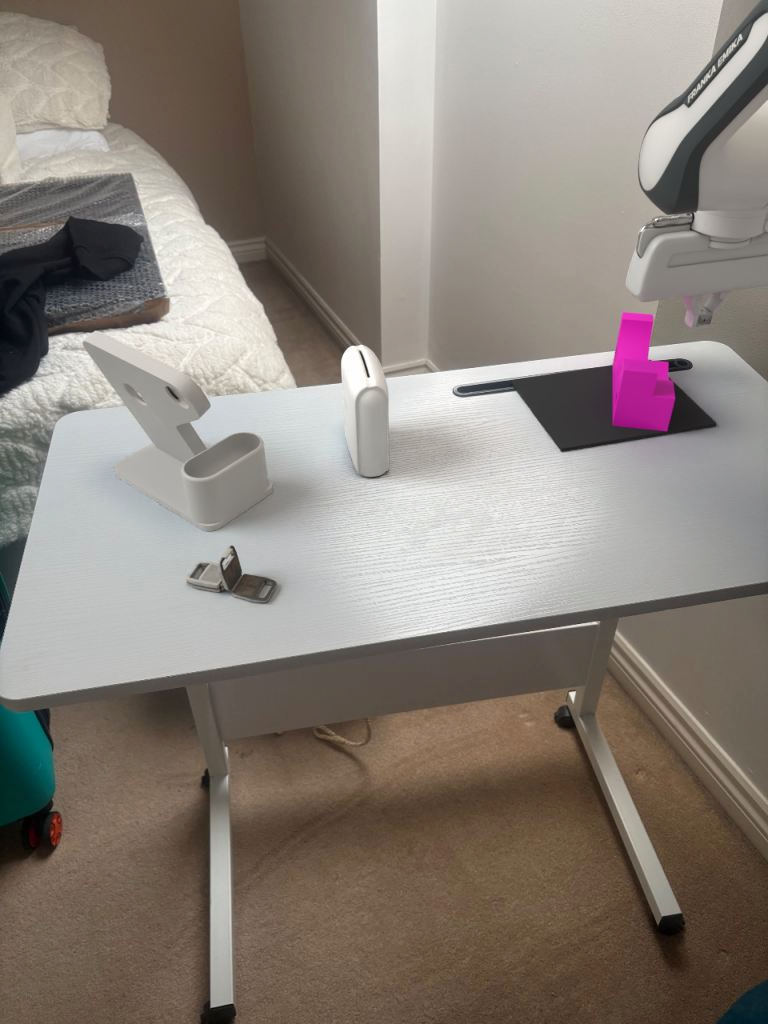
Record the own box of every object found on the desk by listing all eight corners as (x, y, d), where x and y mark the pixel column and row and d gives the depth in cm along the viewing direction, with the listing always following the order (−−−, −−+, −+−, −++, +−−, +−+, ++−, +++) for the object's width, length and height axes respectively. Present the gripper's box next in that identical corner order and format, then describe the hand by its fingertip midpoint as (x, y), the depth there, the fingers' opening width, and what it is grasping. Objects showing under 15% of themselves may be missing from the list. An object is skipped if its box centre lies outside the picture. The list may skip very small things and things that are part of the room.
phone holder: (281, 489, 91) (264, 341, 79) (211, 537, 85) (182, 384, 73) (178, 434, 99) (149, 293, 88) (107, 473, 93) (67, 327, 82)
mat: (650, 362, 112) (650, 359, 111) (715, 426, 100) (716, 422, 99) (510, 383, 108) (510, 379, 107) (561, 452, 96) (562, 448, 95)
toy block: (666, 431, 98) (680, 375, 93) (612, 425, 99) (623, 370, 94) (661, 368, 109) (673, 316, 104) (612, 364, 110) (622, 311, 105)
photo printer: (341, 430, 100) (336, 337, 92) (376, 426, 100) (374, 333, 92) (355, 481, 92) (351, 384, 84) (393, 476, 92) (392, 379, 85)
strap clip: (184, 586, 79) (176, 553, 77) (199, 565, 82) (192, 533, 79) (266, 606, 77) (261, 573, 74) (279, 584, 79) (274, 551, 77)
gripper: (656, 228, 86) (632, 347, 95) (826, 209, 90) (787, 325, 99) (627, 208, 91) (607, 323, 100) (790, 190, 95) (756, 303, 104)
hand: (698, 324), depth 100 cm, fingers closed
